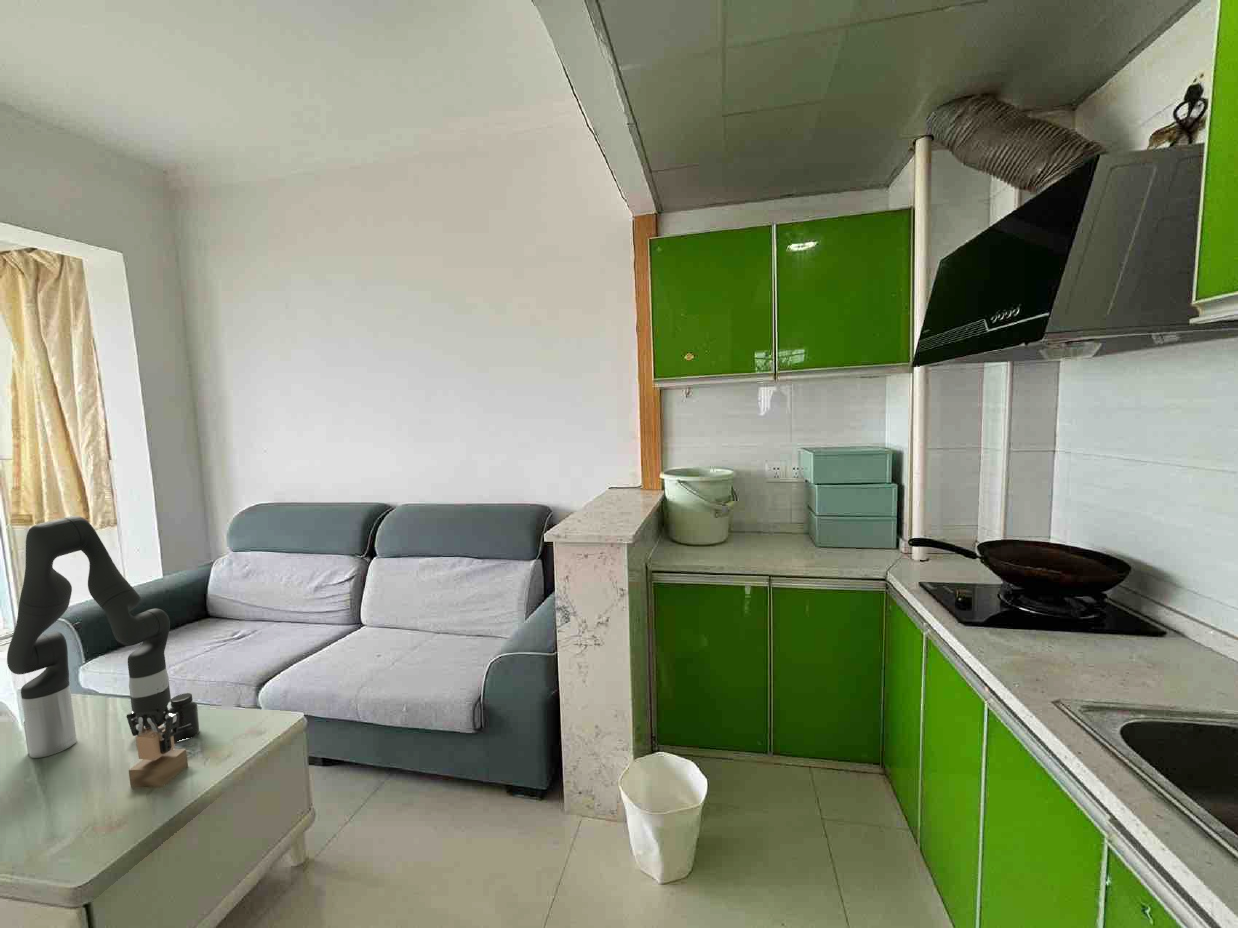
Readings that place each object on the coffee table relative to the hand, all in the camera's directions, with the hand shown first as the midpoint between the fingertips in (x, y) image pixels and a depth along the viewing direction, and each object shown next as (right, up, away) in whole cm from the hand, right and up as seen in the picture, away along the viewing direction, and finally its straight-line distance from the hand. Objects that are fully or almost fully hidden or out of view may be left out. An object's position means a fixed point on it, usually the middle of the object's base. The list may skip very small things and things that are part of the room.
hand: (157, 750), depth 136 cm
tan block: (0, -1, 0) cm, 1 cm away
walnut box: (0, -7, +1) cm, 7 cm away
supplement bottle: (-8, -6, +18) cm, 21 cm away
